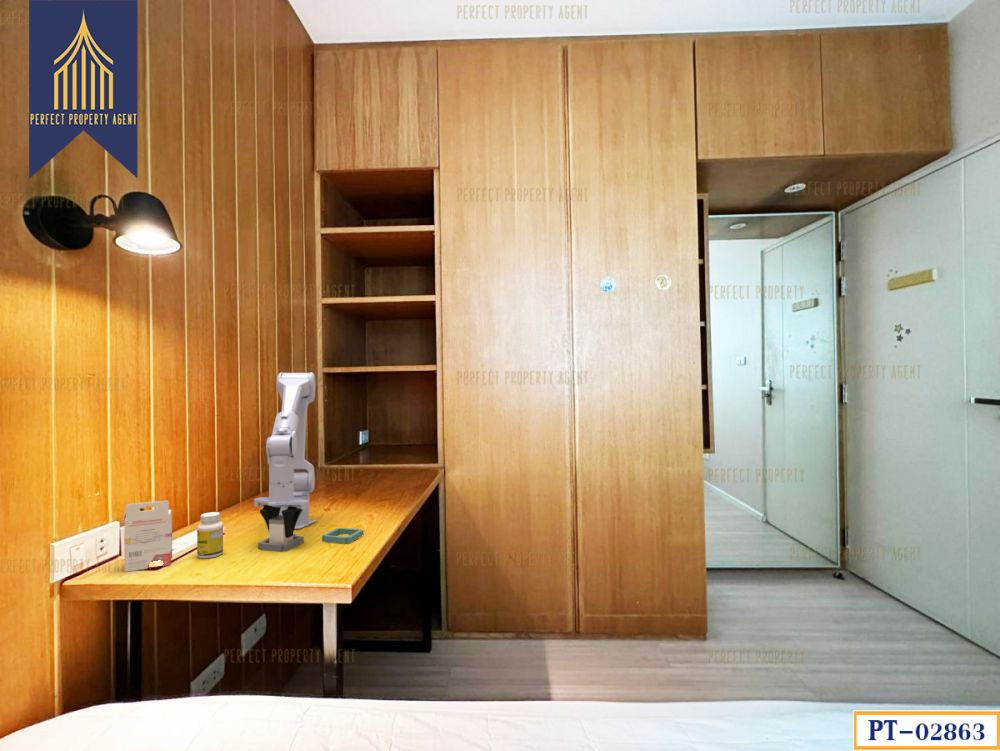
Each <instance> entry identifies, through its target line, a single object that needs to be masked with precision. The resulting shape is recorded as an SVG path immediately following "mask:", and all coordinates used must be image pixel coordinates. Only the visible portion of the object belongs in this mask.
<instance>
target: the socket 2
mask: <svg viewBox="0 0 1000 751" xmlns="http://www.w3.org/2000/svg"><path fill="white" fill-rule="evenodd" d="M364 532H365V530H364V529H361V528H352V527H351V528H350V527H336V528H334V529H332V530H330V531H327V532H326V533H324V534H322V536H321V541H322V542H324V543H329V542H336V543H335V544H342V543H346V544H352V543H353V542H355V541H356V539H357V538H358V539H360V538H361V536H362V535H363V536H364ZM338 534H339V535H338ZM343 534H349V535H347V536H345V535H344V536H341V535H343ZM336 535H337V536H336ZM363 536H362V537H363ZM359 537H360V538H359ZM358 539H357V540H358ZM354 540H355V541H354ZM352 541H353V542H352ZM351 542H352V543H351Z"/></svg>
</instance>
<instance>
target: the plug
mask: <svg viewBox="0 0 1000 751" xmlns="http://www.w3.org/2000/svg"><path fill="white" fill-rule="evenodd" d="M268 538H269V543H276V544H286V543H288V542H290V541H292V540H293V536H291V537H289V538H286V537H285V523H284V518H283V516H282V515H279V516H277V517H274V518H272V519H269V531H268Z"/></svg>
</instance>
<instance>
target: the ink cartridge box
mask: <svg viewBox="0 0 1000 751" xmlns="http://www.w3.org/2000/svg"><path fill="white" fill-rule="evenodd" d="M147 507H149V508H154V509H146V510H141V509H144V508H147ZM169 507H170V502H169V500H159V501H148V502H147V501H146V502H138V503H137V502H136V503H128V504H126V505H125V518H124V520H123V521H124V522H123V524H124V528H123V529H124V530H123V531H124V535H123V536H124V548H123V549H124V572H125V573H127V572H133V571H134V572H135V571H142V570H149V569H150V568H149V566H148V564H149V563H150V562H153V561H158V560H161V561H163V563H164V564H163V567H168V566H170V565H171V563H172V561H171V558H172V559H173V517H172V515H173V514H172V512H173V510H172V509H170V508H169ZM148 568H149V569H148Z"/></svg>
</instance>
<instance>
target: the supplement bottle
mask: <svg viewBox="0 0 1000 751" xmlns="http://www.w3.org/2000/svg"><path fill="white" fill-rule="evenodd" d="M220 519H221V514H220V512H218V511H212V512H209V511H208V512H205V513H202V514H201V515H200V522H201V523H199V524H198V525H197V529H196V532H197V533H196V537H197V540H196V542H197V543H196V548H197V549H196V550H197V551H196V552H197V553H196V554H197V555H196V556H197V557H198V558H200V559H211V558H216V557H219V556H220V555H222V554H223V553H224V524H223V522H222V521H221V520H220Z"/></svg>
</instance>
